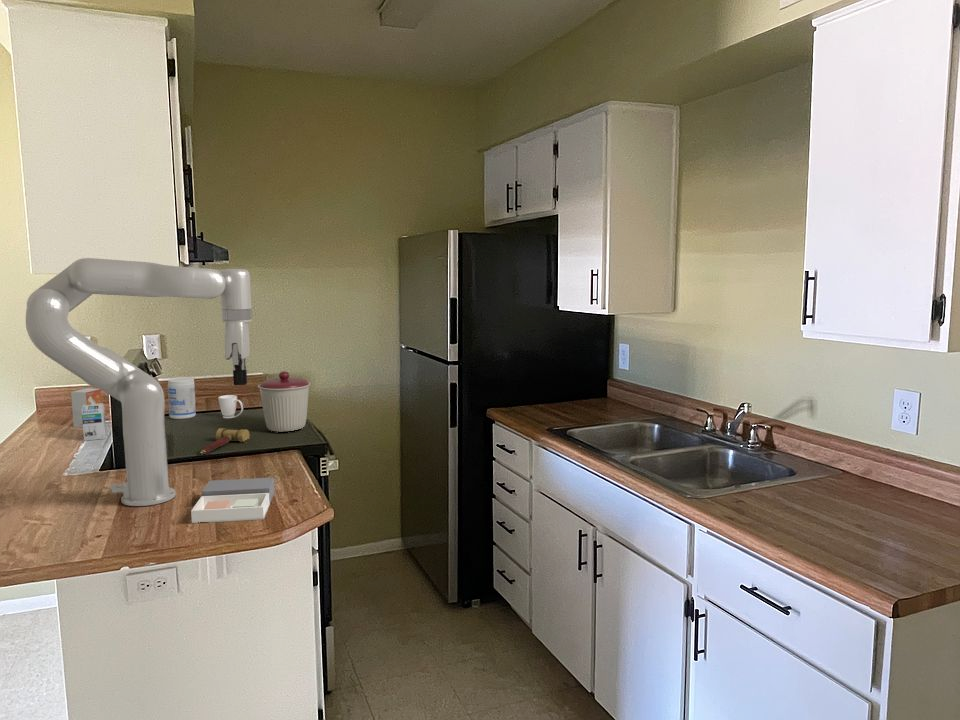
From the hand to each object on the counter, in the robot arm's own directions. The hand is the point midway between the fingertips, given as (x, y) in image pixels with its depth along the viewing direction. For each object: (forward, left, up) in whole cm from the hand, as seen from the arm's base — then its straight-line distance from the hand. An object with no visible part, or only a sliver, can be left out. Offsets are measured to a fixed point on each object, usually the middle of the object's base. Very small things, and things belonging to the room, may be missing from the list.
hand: (240, 384), depth 192 cm
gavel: (-15, +40, -28) cm, 51 cm away
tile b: (+4, -26, -24) cm, 36 cm away
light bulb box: (-60, +62, -27) cm, 91 cm away
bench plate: (+1, -14, -27) cm, 31 cm away
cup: (-19, +86, -27) cm, 92 cm away
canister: (+4, +61, -27) cm, 67 cm away
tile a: (-2, -26, -24) cm, 36 cm away
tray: (+1, -25, -27) cm, 37 cm away
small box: (-69, +82, -27) cm, 111 cm away
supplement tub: (-38, +90, -27) cm, 102 cm away
